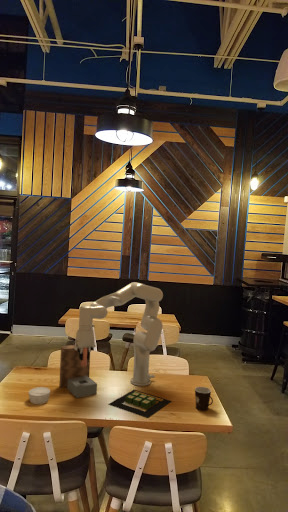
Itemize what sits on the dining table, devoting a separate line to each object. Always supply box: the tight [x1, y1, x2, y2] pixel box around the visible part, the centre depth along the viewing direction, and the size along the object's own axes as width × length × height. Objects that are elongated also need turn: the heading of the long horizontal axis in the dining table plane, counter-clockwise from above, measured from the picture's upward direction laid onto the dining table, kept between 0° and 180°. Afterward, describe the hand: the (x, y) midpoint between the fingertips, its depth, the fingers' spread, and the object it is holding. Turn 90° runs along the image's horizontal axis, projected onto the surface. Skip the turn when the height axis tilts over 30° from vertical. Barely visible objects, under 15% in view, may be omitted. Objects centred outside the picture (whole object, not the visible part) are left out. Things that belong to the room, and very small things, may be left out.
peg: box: [81, 347, 88, 366], centre depth 214 cm, size 3×3×12 cm
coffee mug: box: [194, 386, 214, 412], centre depth 200 cm, size 12×9×10 cm
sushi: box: [107, 389, 172, 419], centre depth 205 cm, size 25×25×4 cm
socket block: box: [66, 376, 98, 399], centre depth 216 cm, size 12×14×6 cm
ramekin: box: [28, 386, 51, 405], centre depth 201 cm, size 11×11×5 cm
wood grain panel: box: [58, 344, 91, 389], centre depth 223 cm, size 18×6×24 cm, turn 123°
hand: (84, 359), depth 214 cm, fingers closed on peg, 3 cm apart
